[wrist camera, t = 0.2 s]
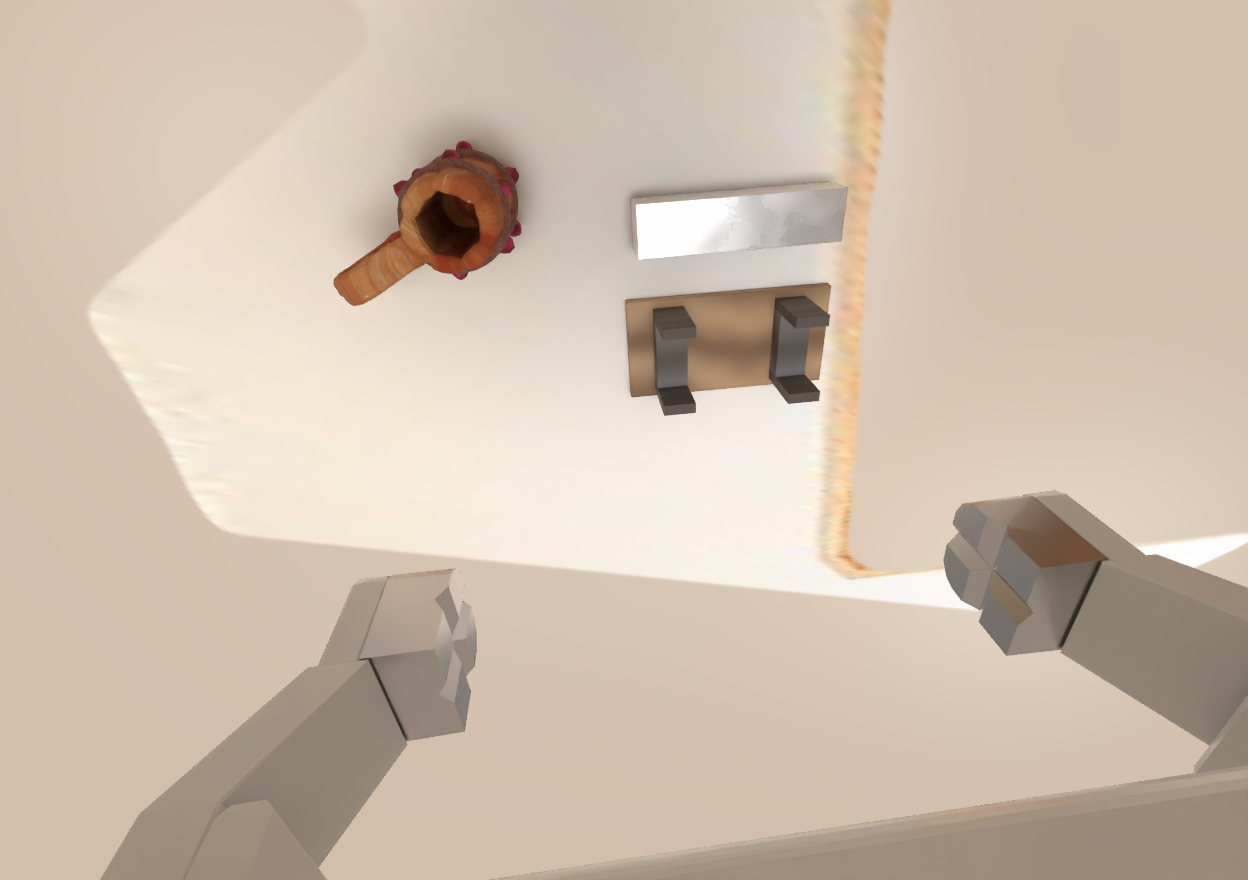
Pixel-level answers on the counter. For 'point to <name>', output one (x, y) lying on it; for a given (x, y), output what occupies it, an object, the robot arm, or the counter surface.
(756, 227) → the rail
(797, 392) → the stand
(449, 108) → the counter surface
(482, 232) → the mug
